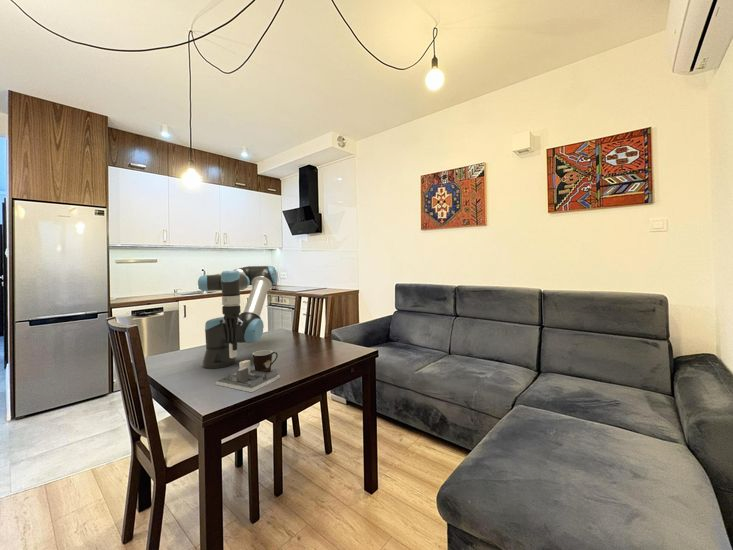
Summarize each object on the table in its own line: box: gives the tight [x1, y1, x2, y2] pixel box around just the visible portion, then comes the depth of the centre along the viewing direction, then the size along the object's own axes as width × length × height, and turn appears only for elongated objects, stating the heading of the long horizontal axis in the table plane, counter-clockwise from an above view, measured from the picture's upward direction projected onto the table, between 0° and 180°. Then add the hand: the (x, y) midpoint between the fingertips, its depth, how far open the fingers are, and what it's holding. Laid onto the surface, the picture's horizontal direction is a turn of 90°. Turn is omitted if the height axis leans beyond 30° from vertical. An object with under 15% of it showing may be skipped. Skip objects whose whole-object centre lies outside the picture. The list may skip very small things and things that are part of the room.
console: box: [215, 368, 281, 393], centre depth 133 cm, size 20×16×4 cm
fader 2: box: [235, 367, 249, 382], centre depth 129 cm, size 2×4×5 cm, turn 154°
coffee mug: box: [252, 349, 279, 372], centre depth 143 cm, size 12×9×10 cm
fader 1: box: [239, 359, 252, 372], centre depth 139 cm, size 2×4×5 cm, turn 154°
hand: (233, 357), depth 142 cm, fingers closed
